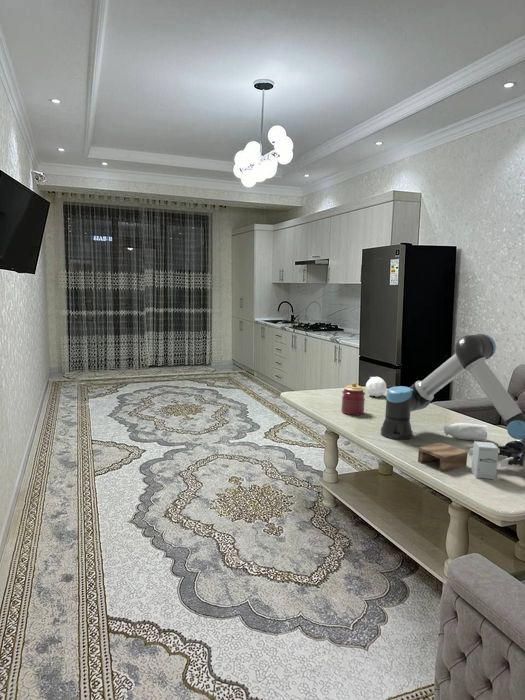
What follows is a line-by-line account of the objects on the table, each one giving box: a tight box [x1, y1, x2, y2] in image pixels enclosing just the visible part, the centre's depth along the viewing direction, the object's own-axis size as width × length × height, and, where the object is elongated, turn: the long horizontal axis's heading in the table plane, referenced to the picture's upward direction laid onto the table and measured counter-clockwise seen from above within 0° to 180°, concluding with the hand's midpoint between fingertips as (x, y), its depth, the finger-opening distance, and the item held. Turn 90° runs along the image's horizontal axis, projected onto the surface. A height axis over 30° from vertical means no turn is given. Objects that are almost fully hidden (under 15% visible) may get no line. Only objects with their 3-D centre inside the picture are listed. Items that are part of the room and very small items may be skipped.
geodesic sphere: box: [365, 375, 387, 398], centre depth 322 cm, size 14×14×14 cm
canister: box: [341, 382, 366, 416], centre depth 278 cm, size 13×13×18 cm
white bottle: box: [443, 422, 488, 442], centre depth 235 cm, size 8×19×8 cm, turn 76°
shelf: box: [417, 442, 469, 473], centre depth 201 cm, size 13×14×6 cm
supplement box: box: [470, 440, 499, 480], centre depth 189 cm, size 7×7×13 cm
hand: (485, 457), depth 189 cm, fingers open, 13 cm apart
